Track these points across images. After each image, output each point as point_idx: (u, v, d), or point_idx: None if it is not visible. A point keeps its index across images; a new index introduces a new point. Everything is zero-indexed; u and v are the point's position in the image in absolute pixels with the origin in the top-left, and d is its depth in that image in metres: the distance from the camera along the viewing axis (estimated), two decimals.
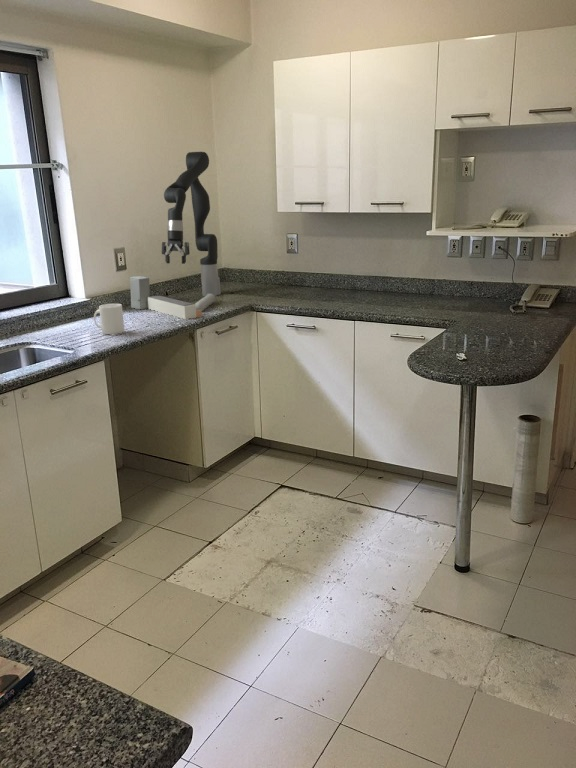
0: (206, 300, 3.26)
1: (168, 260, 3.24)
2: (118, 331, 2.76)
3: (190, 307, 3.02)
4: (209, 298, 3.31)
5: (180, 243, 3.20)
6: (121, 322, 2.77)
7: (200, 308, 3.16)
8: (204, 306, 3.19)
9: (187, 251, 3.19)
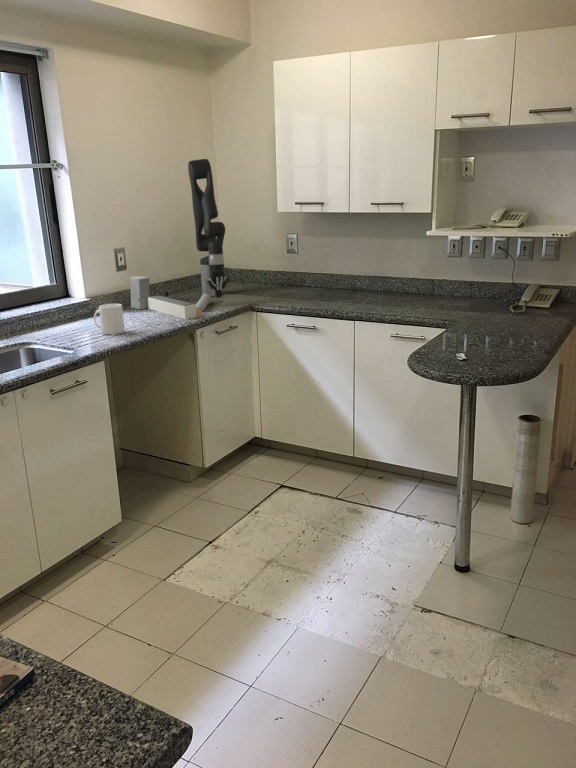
0: (205, 300, 3.26)
1: None
2: (118, 331, 2.76)
3: (190, 307, 3.02)
4: (206, 298, 3.31)
5: (224, 275, 3.30)
6: (121, 322, 2.77)
7: (202, 308, 3.16)
8: (205, 306, 3.20)
9: (224, 286, 3.32)
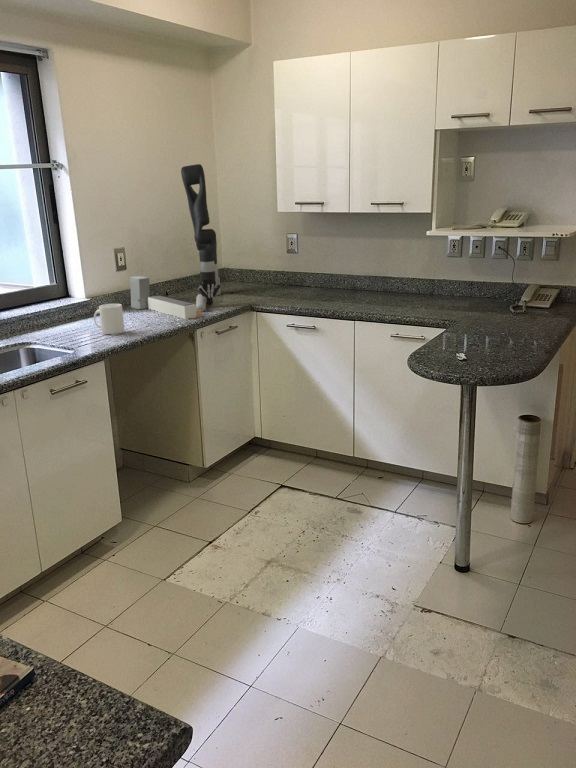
0: (203, 300, 3.26)
1: None
2: (118, 331, 2.76)
3: (190, 307, 3.02)
4: (204, 298, 3.31)
5: (215, 283, 3.27)
6: (121, 322, 2.77)
7: (203, 308, 3.16)
8: (205, 306, 3.20)
9: (216, 293, 3.29)
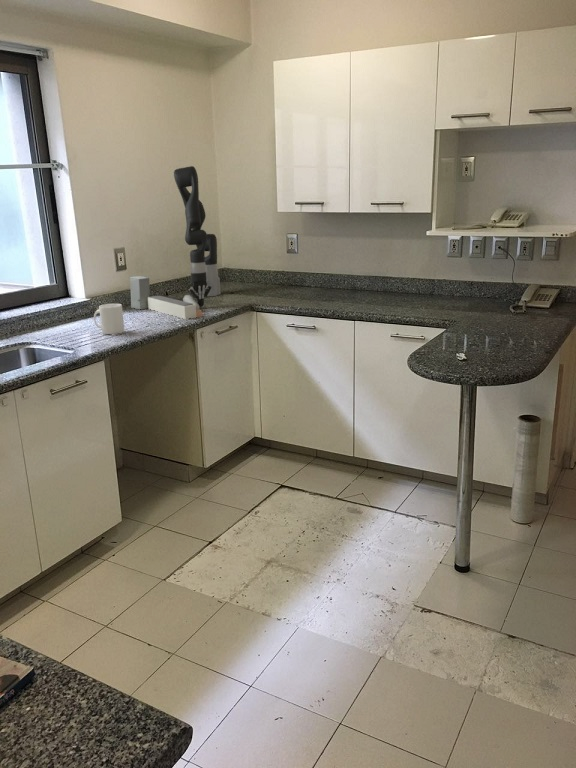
0: (194, 300, 3.25)
1: None
2: (118, 331, 2.76)
3: (190, 307, 3.02)
4: (193, 299, 3.30)
5: (206, 284, 3.24)
6: (121, 322, 2.77)
7: (198, 308, 3.15)
8: None
9: (207, 294, 3.26)
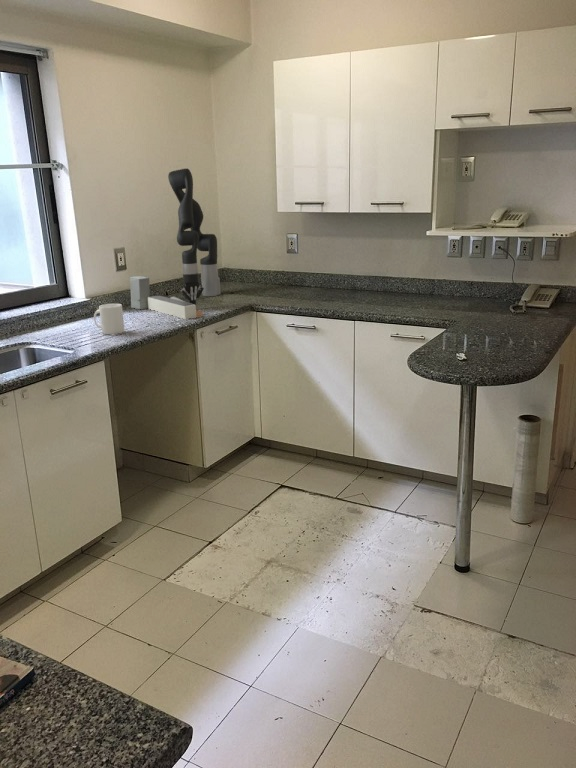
0: None
1: None
2: (118, 331, 2.76)
3: (190, 307, 3.02)
4: None
5: (198, 285, 3.21)
6: (121, 322, 2.77)
7: None
8: None
9: (199, 296, 3.23)
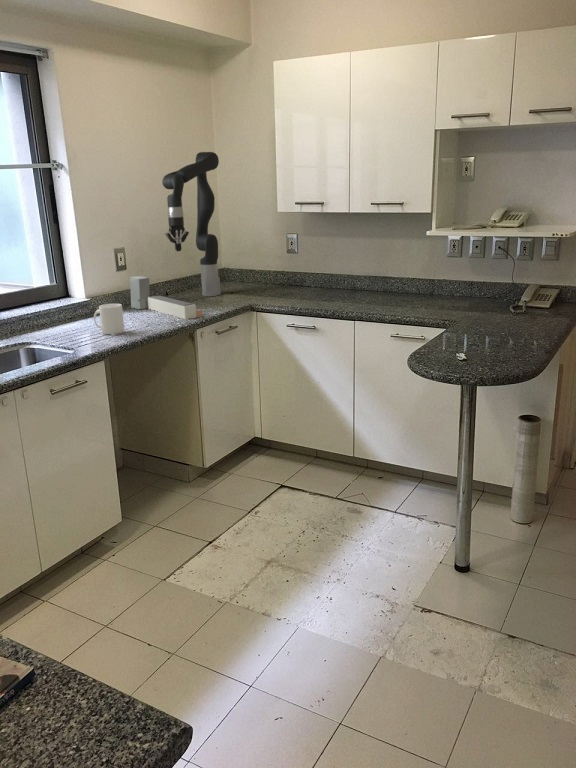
0: None
1: None
2: (118, 331, 2.76)
3: (190, 307, 3.02)
4: None
5: (183, 229, 3.30)
6: (121, 322, 2.77)
7: None
8: None
9: (184, 240, 3.32)
